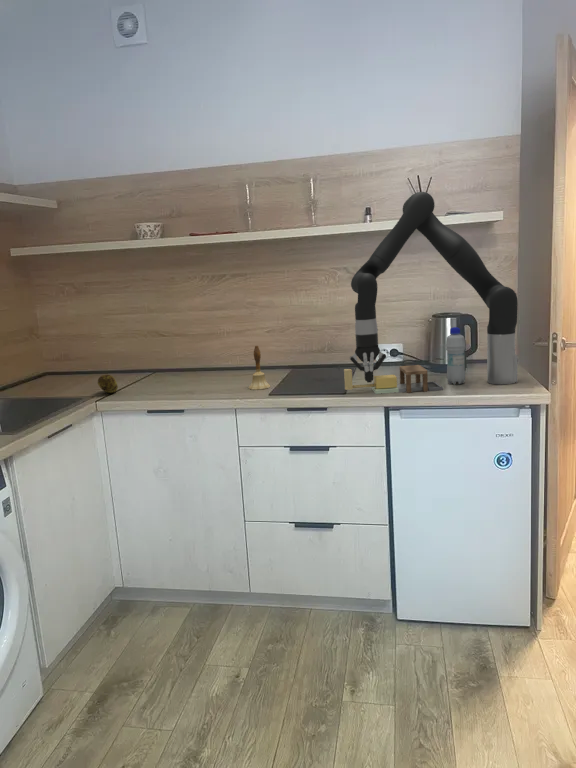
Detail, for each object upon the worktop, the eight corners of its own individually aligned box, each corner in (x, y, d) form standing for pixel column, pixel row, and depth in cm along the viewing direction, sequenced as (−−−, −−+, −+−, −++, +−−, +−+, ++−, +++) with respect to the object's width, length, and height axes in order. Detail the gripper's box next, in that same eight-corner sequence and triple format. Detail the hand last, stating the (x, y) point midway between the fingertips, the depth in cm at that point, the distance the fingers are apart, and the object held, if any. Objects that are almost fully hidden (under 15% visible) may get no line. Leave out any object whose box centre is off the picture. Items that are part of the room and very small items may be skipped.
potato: (125, 389, 253) (123, 369, 251) (113, 396, 240) (111, 375, 239) (105, 390, 254) (103, 370, 252) (92, 397, 241) (90, 376, 240)
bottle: (452, 386, 219) (451, 328, 216) (442, 382, 226) (441, 327, 222) (469, 384, 221) (469, 327, 217) (459, 380, 227) (458, 325, 224)
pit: (434, 384, 225) (434, 381, 224) (442, 390, 214) (442, 387, 214) (421, 385, 224) (421, 382, 224) (428, 391, 214) (428, 388, 214)
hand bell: (245, 387, 241) (242, 346, 238) (266, 384, 244) (263, 343, 241) (252, 391, 234) (249, 348, 231) (273, 388, 237) (270, 345, 234)
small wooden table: (419, 384, 225) (419, 364, 224) (427, 391, 213) (427, 370, 212) (400, 386, 225) (399, 366, 224) (407, 393, 213) (406, 372, 212)
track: (422, 385, 223) (422, 382, 223) (427, 390, 215) (427, 386, 215) (371, 389, 223) (371, 385, 223) (375, 393, 215) (375, 390, 215)
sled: (394, 384, 221) (393, 365, 220) (396, 387, 216) (396, 367, 215) (344, 387, 221) (343, 368, 220) (346, 390, 216) (345, 371, 215)
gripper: (383, 329, 219) (386, 378, 222) (345, 332, 219) (348, 381, 222) (387, 331, 211) (390, 382, 215) (348, 335, 211) (351, 385, 214)
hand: (369, 382), depth 218 cm, fingers closed
